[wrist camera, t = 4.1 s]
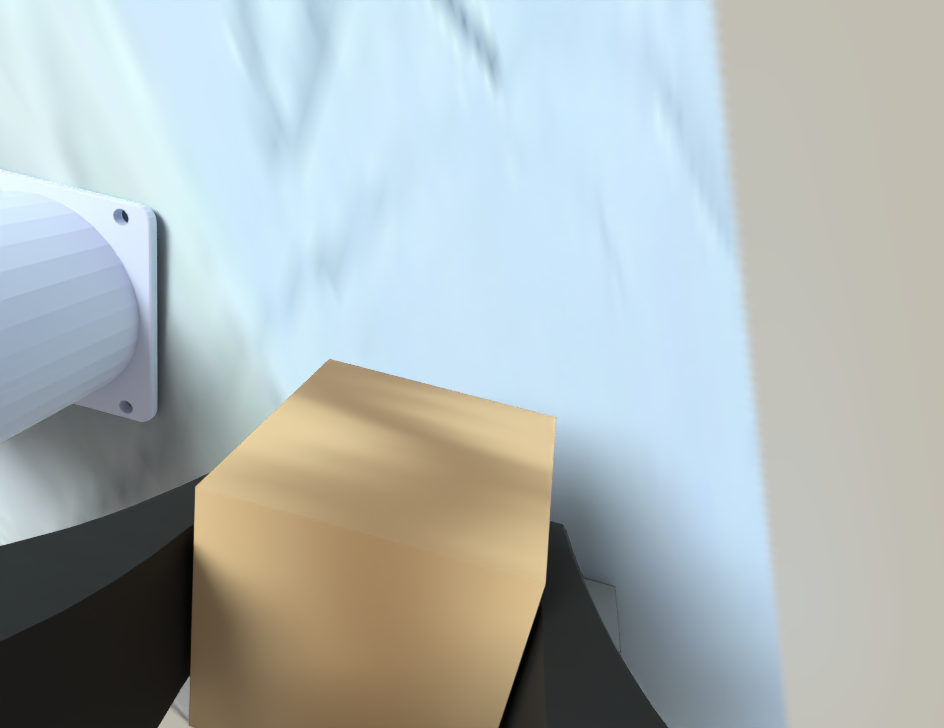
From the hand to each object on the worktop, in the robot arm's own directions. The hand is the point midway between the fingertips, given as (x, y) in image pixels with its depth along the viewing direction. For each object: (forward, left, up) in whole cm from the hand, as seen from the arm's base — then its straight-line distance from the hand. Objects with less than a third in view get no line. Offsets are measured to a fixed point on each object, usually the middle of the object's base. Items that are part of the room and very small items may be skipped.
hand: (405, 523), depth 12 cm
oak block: (0, 0, -2) cm, 2 cm away
